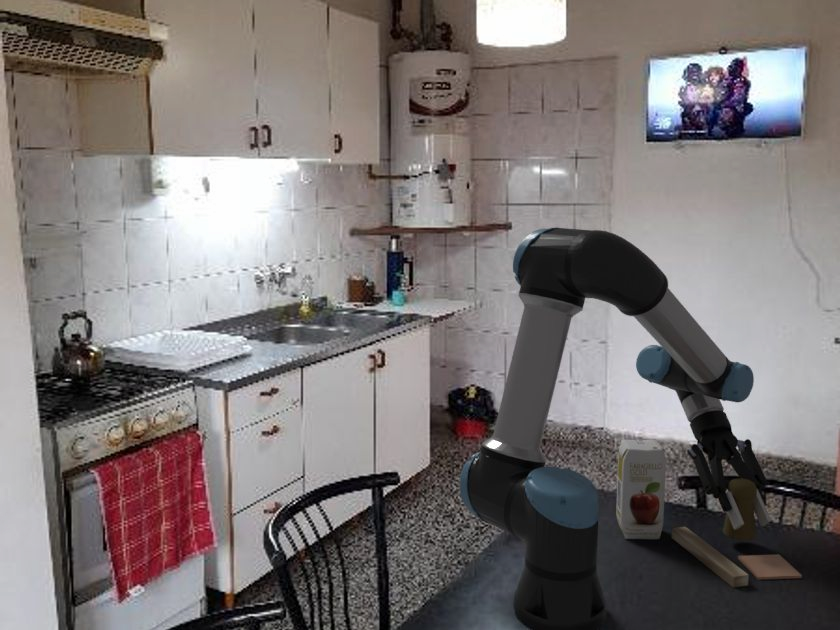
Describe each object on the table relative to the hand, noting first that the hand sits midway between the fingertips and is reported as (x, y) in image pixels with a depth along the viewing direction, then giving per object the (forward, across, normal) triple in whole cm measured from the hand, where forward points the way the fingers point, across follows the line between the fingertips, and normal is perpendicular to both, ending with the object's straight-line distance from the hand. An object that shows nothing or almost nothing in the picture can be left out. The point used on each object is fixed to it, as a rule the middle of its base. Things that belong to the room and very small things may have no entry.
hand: (752, 524), depth 146 cm
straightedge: (+4, +10, -4) cm, 11 cm away
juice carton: (-5, +16, -14) cm, 22 cm away
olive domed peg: (0, 0, -5) cm, 5 cm away
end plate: (+8, 0, 0) cm, 8 cm away
